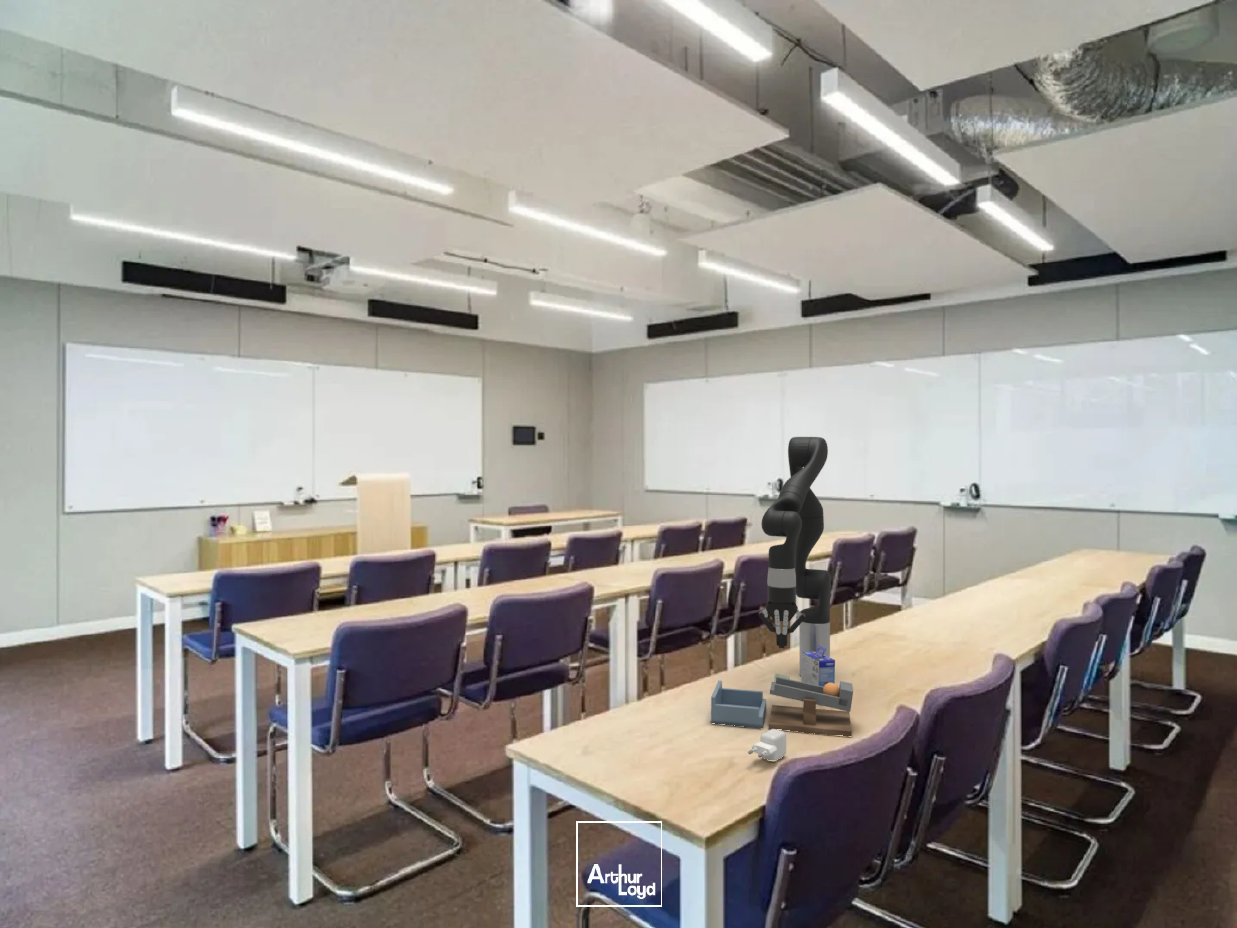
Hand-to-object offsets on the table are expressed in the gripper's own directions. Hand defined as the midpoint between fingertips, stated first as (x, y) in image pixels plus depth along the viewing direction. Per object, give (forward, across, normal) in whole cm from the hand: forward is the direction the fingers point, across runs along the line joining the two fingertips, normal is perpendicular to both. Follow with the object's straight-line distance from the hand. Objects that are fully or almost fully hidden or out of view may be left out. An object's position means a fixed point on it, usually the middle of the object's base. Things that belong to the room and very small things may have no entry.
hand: (781, 647), depth 196 cm
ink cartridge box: (+17, -10, -11) cm, 22 cm away
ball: (+8, -13, +9) cm, 18 cm away
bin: (+17, +10, +9) cm, 22 cm away
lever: (+11, -7, +5) cm, 15 cm away
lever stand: (+17, -8, +9) cm, 20 cm away
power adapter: (+17, +2, +35) cm, 39 cm away
